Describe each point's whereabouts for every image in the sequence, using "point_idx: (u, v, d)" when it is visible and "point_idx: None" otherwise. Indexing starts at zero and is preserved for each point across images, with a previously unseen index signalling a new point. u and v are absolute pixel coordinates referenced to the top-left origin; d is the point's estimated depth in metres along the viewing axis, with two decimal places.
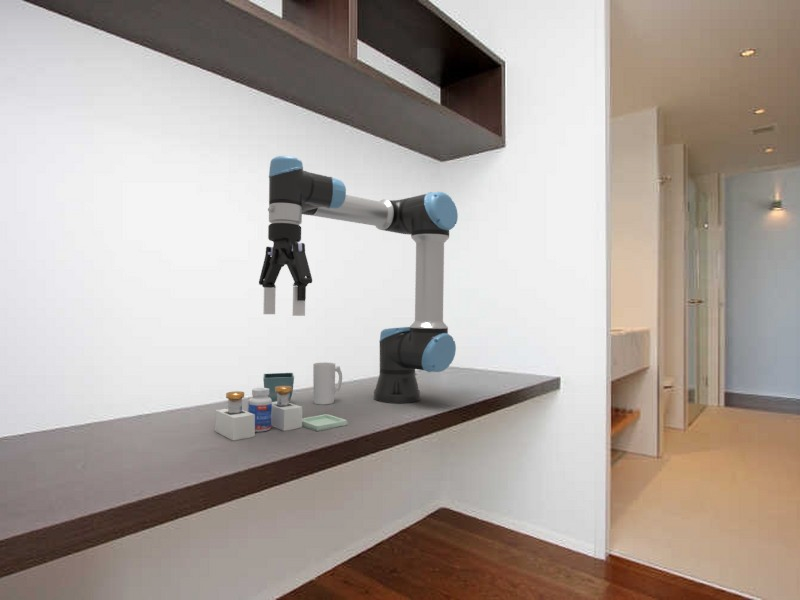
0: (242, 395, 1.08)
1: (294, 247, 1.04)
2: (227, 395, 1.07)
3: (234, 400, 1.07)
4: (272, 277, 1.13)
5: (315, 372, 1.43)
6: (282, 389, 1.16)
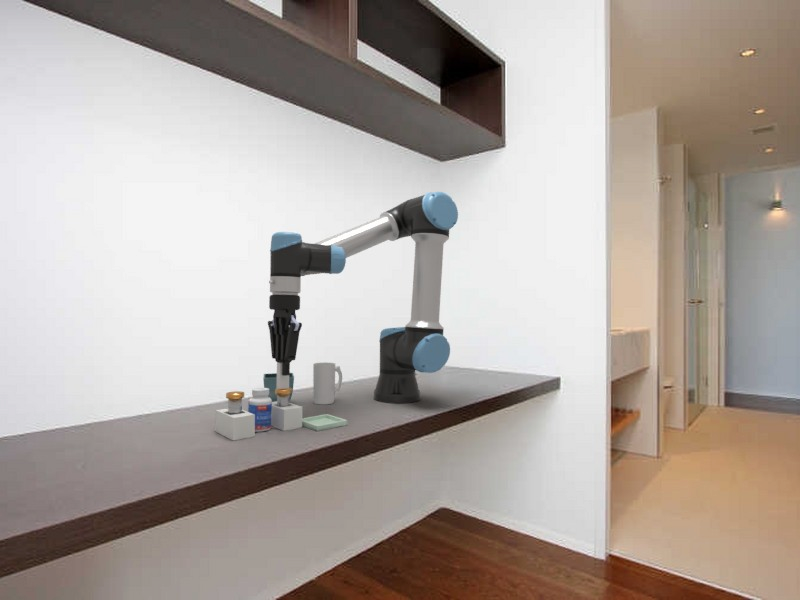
0: (242, 395, 1.08)
1: (291, 328, 1.13)
2: (227, 395, 1.07)
3: (234, 400, 1.07)
4: None
5: (315, 372, 1.43)
6: (282, 391, 1.16)
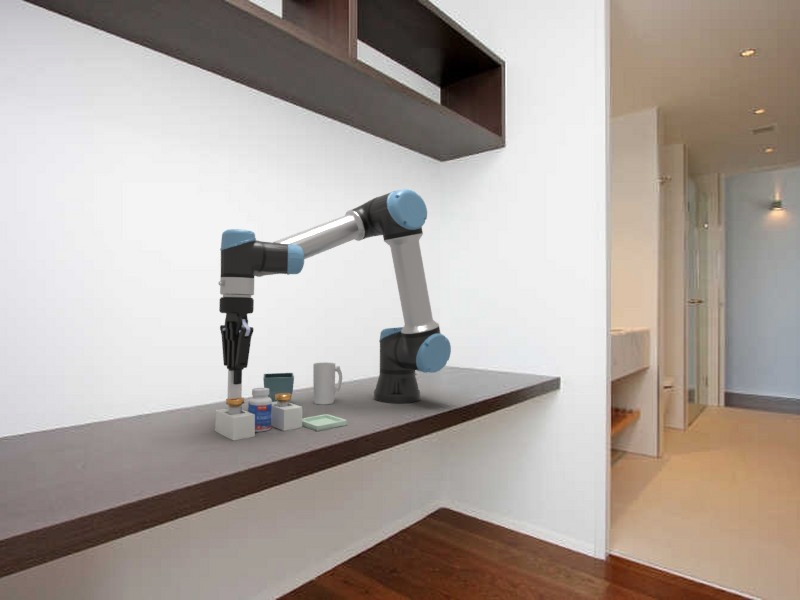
0: (242, 401, 1.08)
1: (241, 333, 1.04)
2: (227, 401, 1.07)
3: (234, 406, 1.07)
4: None
5: (315, 372, 1.43)
6: (282, 397, 1.16)
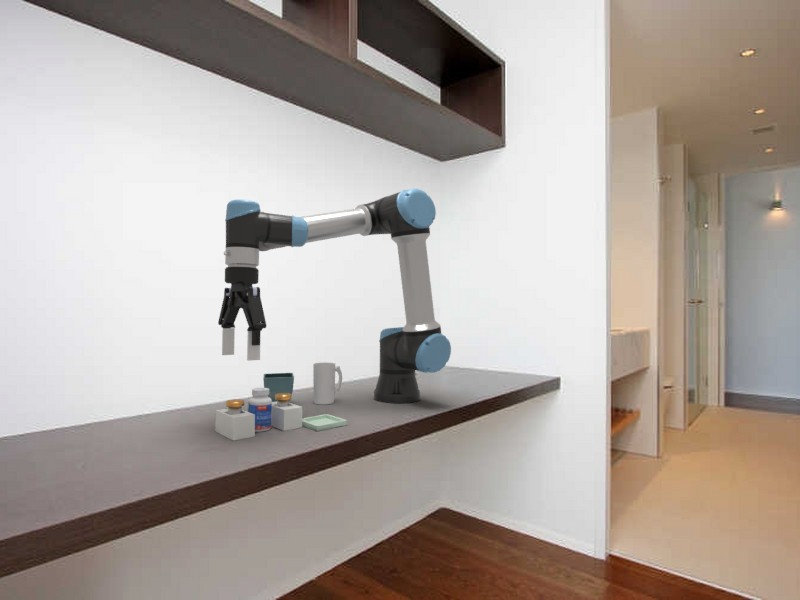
0: (242, 403, 1.08)
1: (249, 292, 1.04)
2: (227, 403, 1.07)
3: (234, 408, 1.07)
4: (230, 318, 1.14)
5: (315, 372, 1.43)
6: (282, 397, 1.16)
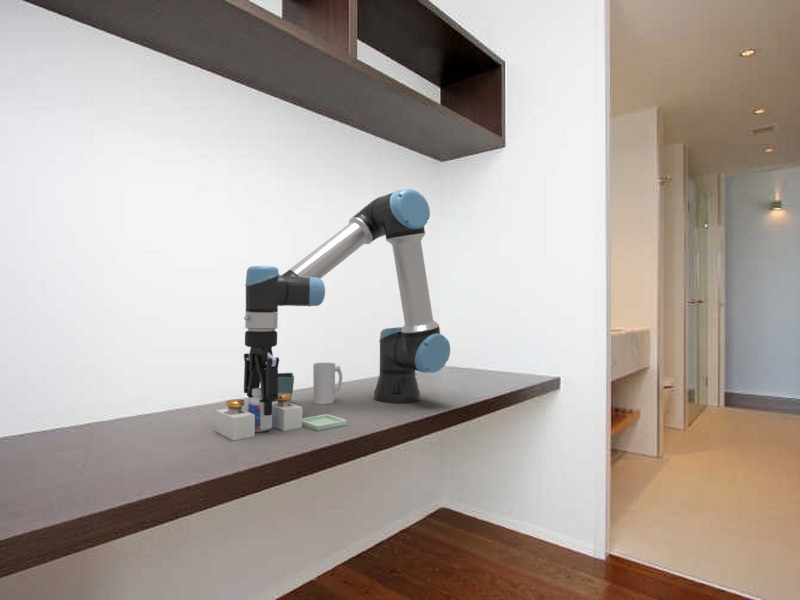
0: (242, 403, 1.08)
1: (268, 364, 1.08)
2: (227, 403, 1.07)
3: (234, 408, 1.07)
4: (254, 384, 1.15)
5: (315, 372, 1.43)
6: (282, 397, 1.16)
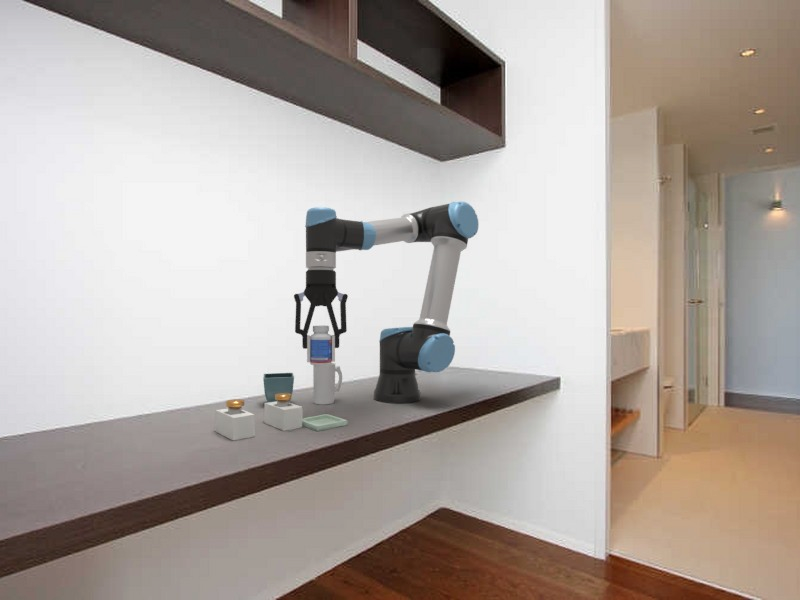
0: (242, 403, 1.08)
1: (345, 299, 1.19)
2: (227, 403, 1.07)
3: (234, 408, 1.07)
4: None
5: (315, 372, 1.43)
6: (282, 397, 1.16)
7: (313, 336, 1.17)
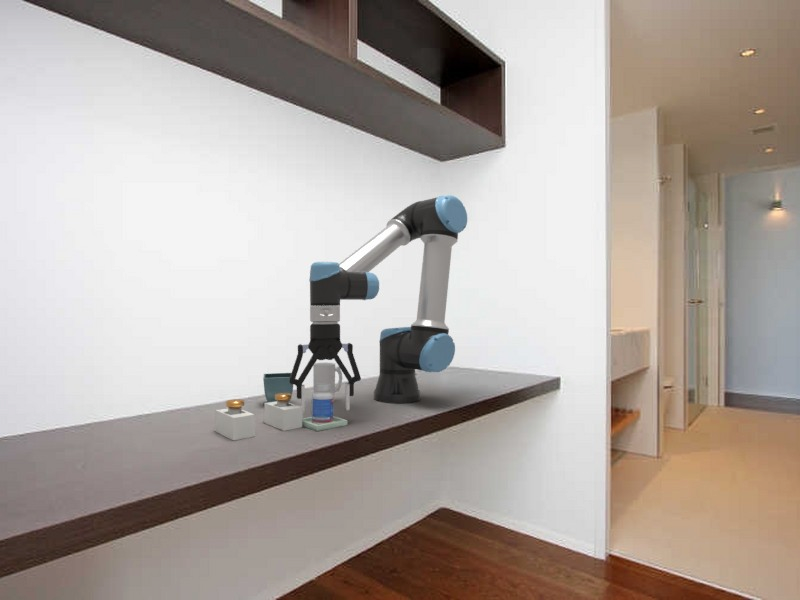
0: (242, 403, 1.08)
1: (351, 349, 1.19)
2: (227, 403, 1.07)
3: (234, 408, 1.07)
4: (307, 374, 1.17)
5: (315, 372, 1.43)
6: (282, 397, 1.16)
7: (315, 395, 1.17)
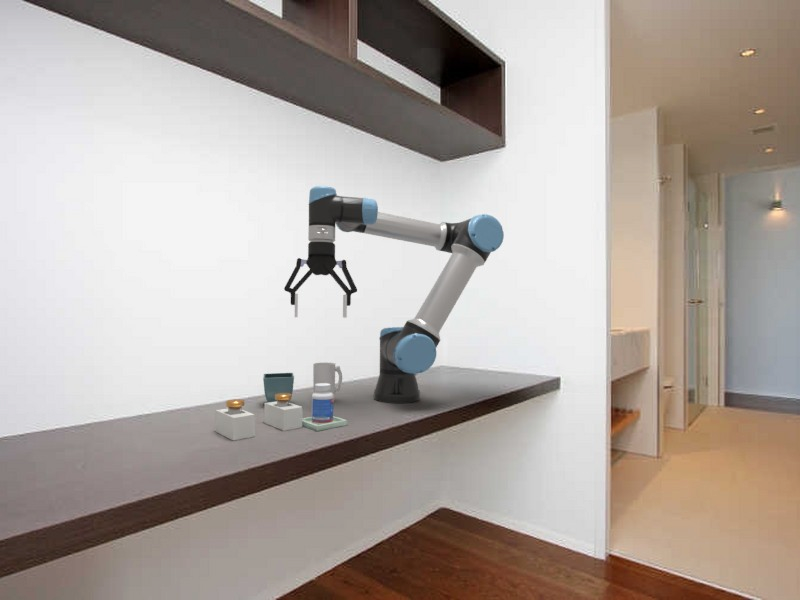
0: (242, 403, 1.08)
1: (344, 264, 1.33)
2: (227, 403, 1.07)
3: (234, 408, 1.07)
4: None
5: (315, 372, 1.43)
6: (282, 397, 1.16)
7: (315, 395, 1.16)
